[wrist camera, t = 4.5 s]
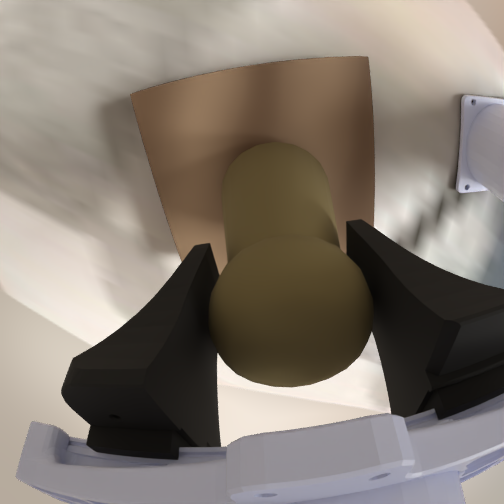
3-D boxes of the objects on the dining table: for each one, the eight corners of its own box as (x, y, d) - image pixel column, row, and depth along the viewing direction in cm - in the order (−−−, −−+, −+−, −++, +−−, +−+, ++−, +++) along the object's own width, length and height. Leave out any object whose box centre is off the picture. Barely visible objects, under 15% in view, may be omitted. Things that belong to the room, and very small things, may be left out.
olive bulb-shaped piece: (236, 128, 16) (207, 248, 6) (345, 161, 16) (439, 300, 7) (211, 227, 19) (177, 394, 10) (307, 250, 20) (341, 414, 11)
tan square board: (351, 55, 16) (368, 56, 14) (359, 230, 24) (372, 252, 21) (145, 88, 17) (130, 94, 15) (193, 255, 25) (188, 280, 22)
